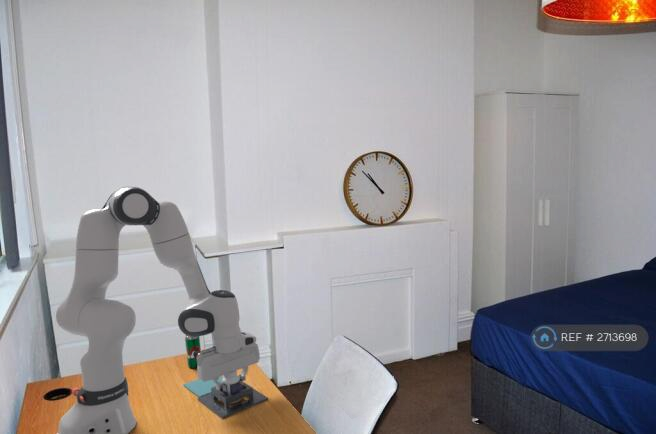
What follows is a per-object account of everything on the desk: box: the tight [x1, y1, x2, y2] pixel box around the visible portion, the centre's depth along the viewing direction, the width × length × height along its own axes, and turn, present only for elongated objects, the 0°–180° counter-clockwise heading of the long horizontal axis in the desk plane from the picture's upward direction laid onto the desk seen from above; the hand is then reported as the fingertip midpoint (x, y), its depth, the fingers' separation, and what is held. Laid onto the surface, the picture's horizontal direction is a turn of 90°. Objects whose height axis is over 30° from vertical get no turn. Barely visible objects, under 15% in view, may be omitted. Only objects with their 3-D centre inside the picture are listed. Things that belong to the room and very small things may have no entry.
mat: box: [182, 376, 224, 398], centre depth 179 cm, size 12×12×1 cm
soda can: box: [184, 335, 202, 369], centre depth 195 cm, size 5×5×12 cm
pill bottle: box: [222, 370, 242, 405], centre depth 168 cm, size 5×5×10 cm
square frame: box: [197, 381, 269, 420], centre depth 168 cm, size 16×16×4 cm
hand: (231, 384), depth 168 cm, fingers open, 7 cm apart
